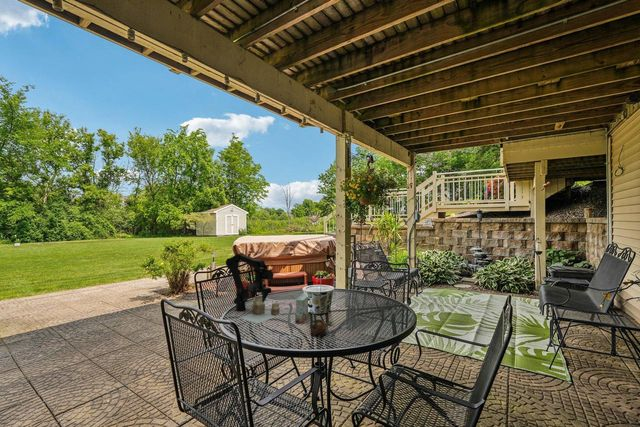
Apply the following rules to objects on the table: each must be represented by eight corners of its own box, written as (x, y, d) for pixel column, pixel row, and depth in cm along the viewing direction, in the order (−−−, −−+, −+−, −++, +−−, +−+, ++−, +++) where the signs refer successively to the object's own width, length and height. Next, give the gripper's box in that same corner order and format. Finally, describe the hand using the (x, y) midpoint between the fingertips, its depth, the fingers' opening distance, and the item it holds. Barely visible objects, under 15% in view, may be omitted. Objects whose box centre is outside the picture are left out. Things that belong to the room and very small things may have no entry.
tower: (271, 314, 197) (271, 303, 198) (275, 313, 201) (275, 302, 201) (275, 315, 195) (275, 304, 195) (279, 314, 198) (279, 303, 199)
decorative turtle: (313, 339, 159) (313, 324, 160) (307, 331, 174) (306, 317, 174) (330, 337, 162) (329, 322, 163) (322, 329, 176) (321, 315, 177)
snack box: (303, 324, 183) (303, 300, 184) (294, 323, 184) (295, 299, 185) (311, 313, 204) (311, 292, 204) (303, 313, 205) (303, 291, 206)
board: (238, 319, 191) (238, 317, 191) (262, 310, 209) (262, 309, 209) (257, 325, 180) (257, 323, 180) (281, 315, 199) (281, 314, 199)
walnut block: (252, 313, 199) (252, 304, 199) (258, 311, 204) (258, 302, 204) (258, 315, 196) (258, 306, 196) (264, 313, 201) (264, 304, 201)
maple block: (253, 304, 199) (253, 297, 200) (258, 303, 204) (258, 296, 204) (258, 306, 197) (258, 298, 197) (263, 304, 201) (263, 297, 201)
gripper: (240, 278, 199) (240, 301, 199) (260, 282, 189) (259, 306, 188) (252, 276, 208) (252, 298, 208) (272, 279, 198) (271, 302, 197)
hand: (258, 301), depth 200 cm, fingers open, 9 cm apart
